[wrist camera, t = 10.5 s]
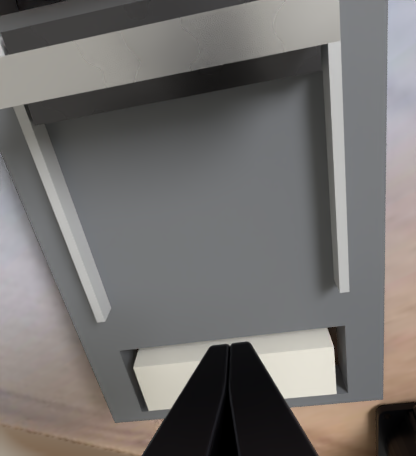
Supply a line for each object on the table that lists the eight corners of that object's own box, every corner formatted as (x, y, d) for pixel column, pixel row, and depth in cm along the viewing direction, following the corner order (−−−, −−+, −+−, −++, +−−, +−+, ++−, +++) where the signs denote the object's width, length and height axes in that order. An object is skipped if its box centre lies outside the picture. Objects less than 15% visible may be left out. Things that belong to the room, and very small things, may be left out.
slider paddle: (315, 68, 13) (350, 79, 10) (47, 120, 14) (-17, 148, 11) (309, -33, 12) (346, -68, 8) (15, 33, 13) (-69, 29, 9)
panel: (370, 370, 22) (390, 416, 20) (123, 394, 24) (110, 438, 21) (365, -276, 11) (409, -376, 9) (-87, -142, 13) (-168, -190, 10)
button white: (325, 357, 22) (336, 393, 20) (156, 375, 23) (148, 410, 21) (322, 313, 21) (333, 346, 18) (143, 334, 22) (133, 367, 19)
